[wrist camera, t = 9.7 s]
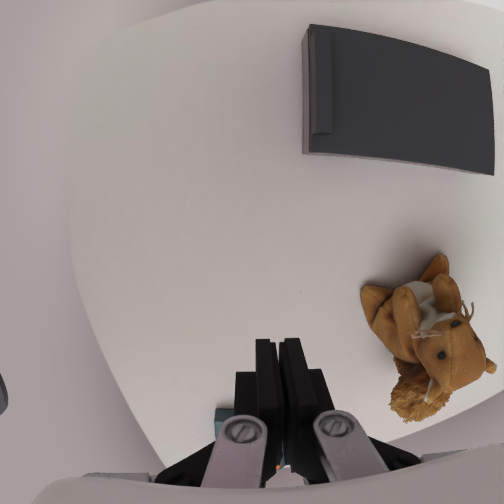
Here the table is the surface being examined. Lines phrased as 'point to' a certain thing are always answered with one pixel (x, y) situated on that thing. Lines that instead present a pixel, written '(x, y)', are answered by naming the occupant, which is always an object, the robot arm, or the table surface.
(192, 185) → the table surface
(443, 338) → the stuffed squirrel
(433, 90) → the lid
